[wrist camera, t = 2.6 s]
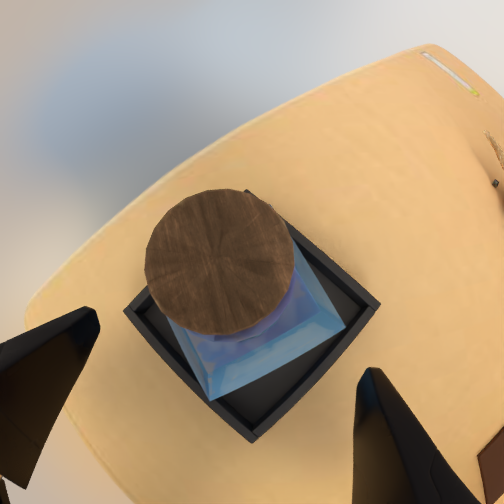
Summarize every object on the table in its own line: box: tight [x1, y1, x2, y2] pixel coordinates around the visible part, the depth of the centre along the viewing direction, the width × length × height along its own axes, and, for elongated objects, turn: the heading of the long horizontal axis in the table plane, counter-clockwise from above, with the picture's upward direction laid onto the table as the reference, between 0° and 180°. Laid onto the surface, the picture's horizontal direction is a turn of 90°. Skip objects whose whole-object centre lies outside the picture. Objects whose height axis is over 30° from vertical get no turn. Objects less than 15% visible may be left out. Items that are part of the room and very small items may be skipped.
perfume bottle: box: [144, 189, 346, 401], centre depth 11 cm, size 6×6×12 cm
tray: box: [123, 189, 381, 443], centre depth 17 cm, size 11×11×2 cm
